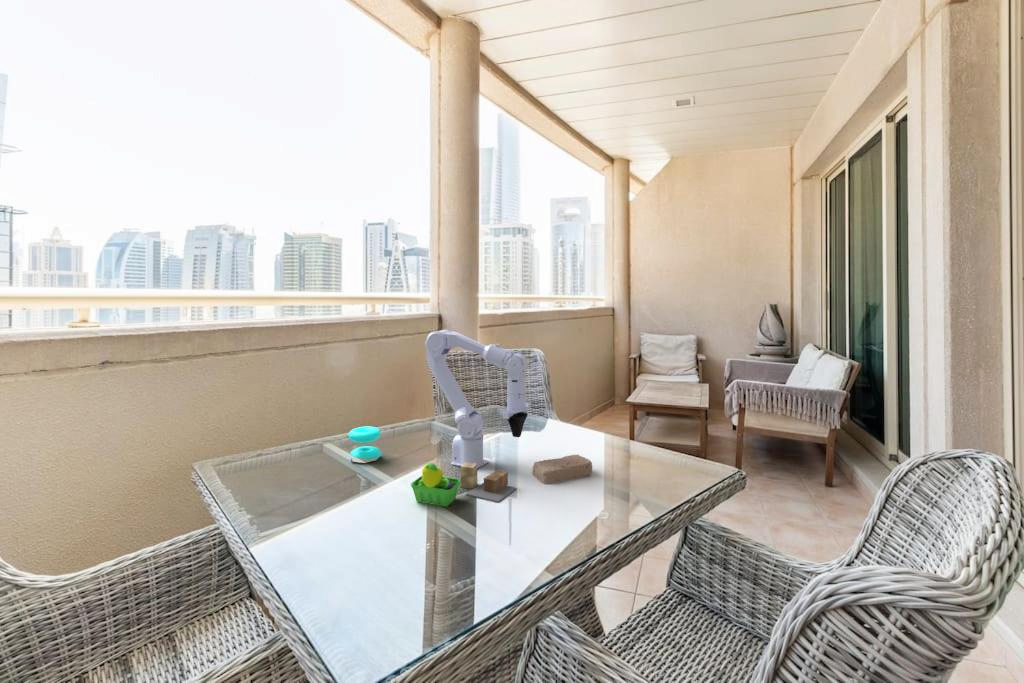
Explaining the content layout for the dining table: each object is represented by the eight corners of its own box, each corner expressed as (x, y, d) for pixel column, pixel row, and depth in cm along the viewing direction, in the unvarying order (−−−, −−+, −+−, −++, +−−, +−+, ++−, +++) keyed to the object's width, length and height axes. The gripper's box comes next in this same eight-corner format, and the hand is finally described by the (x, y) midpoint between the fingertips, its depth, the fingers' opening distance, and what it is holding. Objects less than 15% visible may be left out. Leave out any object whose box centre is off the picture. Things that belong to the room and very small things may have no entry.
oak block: (461, 487, 139) (460, 466, 138) (465, 482, 143) (465, 462, 142) (473, 488, 138) (473, 467, 138) (477, 483, 142) (477, 463, 141)
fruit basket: (462, 497, 132) (461, 456, 131) (447, 511, 124) (446, 467, 123) (424, 492, 136) (423, 452, 135) (407, 505, 128) (406, 462, 127)
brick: (544, 485, 141) (544, 469, 140) (531, 475, 148) (531, 460, 148) (593, 476, 148) (593, 461, 147) (578, 467, 155) (578, 453, 155)
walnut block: (496, 482, 142) (483, 490, 135) (496, 470, 141) (483, 478, 135) (507, 484, 140) (495, 493, 134) (507, 472, 139) (494, 480, 133)
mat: (466, 495, 134) (466, 493, 134) (485, 482, 142) (485, 481, 142) (498, 502, 129) (498, 501, 129) (516, 489, 138) (516, 487, 138)
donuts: (372, 434, 156) (342, 433, 157) (373, 465, 157) (344, 464, 158) (385, 425, 166) (356, 424, 167) (386, 455, 167) (357, 453, 168)
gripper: (516, 399, 144) (516, 444, 145) (538, 390, 156) (538, 432, 158) (495, 396, 147) (496, 441, 149) (519, 388, 160) (519, 429, 161)
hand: (516, 436), depth 153 cm, fingers closed
